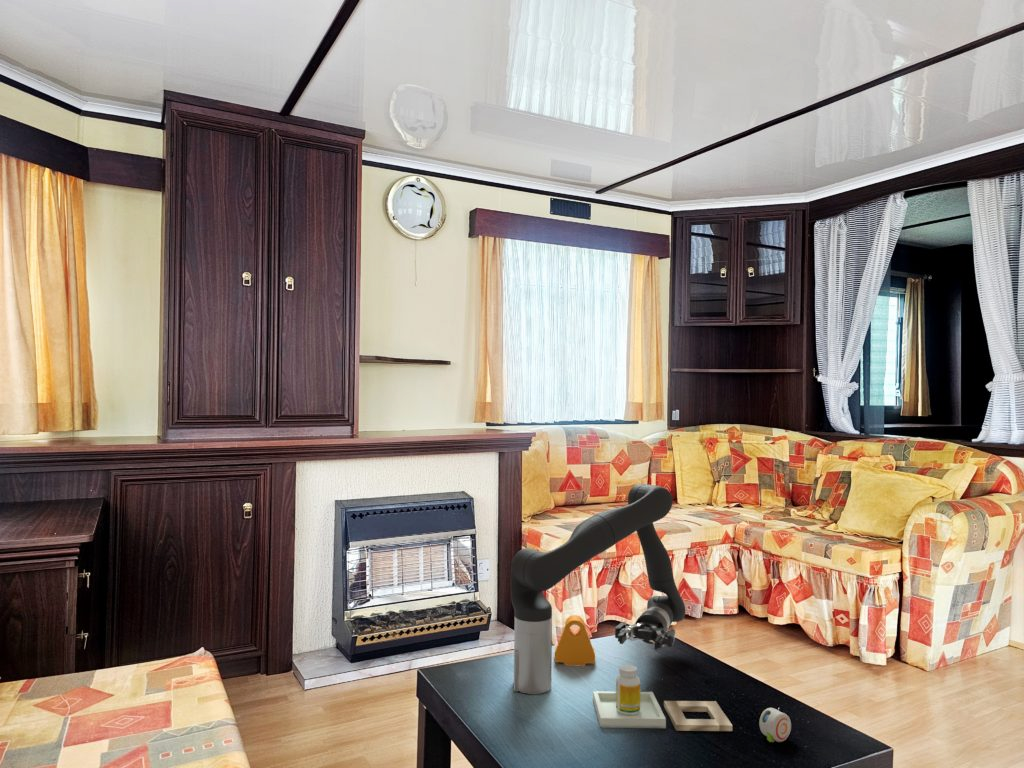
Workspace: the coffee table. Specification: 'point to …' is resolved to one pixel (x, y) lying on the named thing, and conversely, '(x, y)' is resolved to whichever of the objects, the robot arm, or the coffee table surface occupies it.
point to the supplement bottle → (628, 690)
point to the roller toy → (775, 725)
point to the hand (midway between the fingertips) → (638, 642)
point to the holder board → (682, 724)
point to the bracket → (574, 644)
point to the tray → (613, 719)
